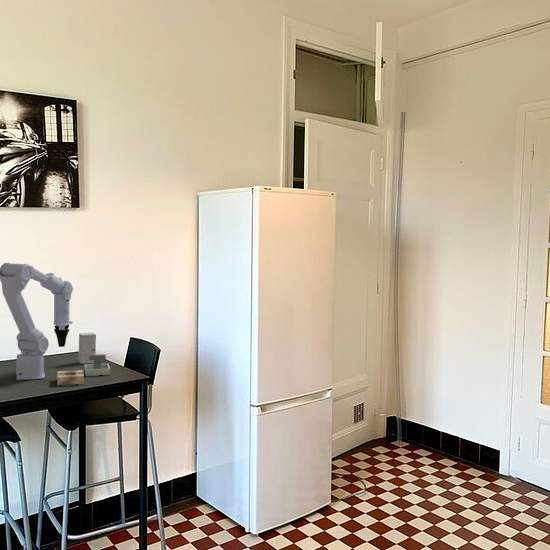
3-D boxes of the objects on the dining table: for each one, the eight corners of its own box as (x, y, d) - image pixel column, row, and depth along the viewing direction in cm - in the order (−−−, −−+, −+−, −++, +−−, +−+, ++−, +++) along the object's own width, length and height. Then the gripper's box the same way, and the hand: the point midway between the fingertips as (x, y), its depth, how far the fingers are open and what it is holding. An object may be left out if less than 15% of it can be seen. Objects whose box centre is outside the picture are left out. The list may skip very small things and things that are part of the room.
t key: (89, 373, 226) (89, 356, 225) (89, 371, 228) (89, 355, 228) (105, 372, 228) (105, 355, 227) (105, 370, 230) (105, 354, 230)
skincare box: (81, 364, 241) (81, 335, 240) (78, 362, 245) (78, 333, 244) (96, 362, 245) (96, 334, 244) (93, 360, 249) (93, 332, 248)
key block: (57, 385, 209) (57, 377, 209) (57, 379, 217) (57, 371, 217) (83, 384, 212) (83, 375, 212) (83, 377, 220) (83, 370, 220)
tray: (85, 376, 222) (85, 369, 222) (84, 370, 231) (84, 364, 231) (110, 375, 226) (110, 368, 225) (108, 369, 234) (108, 363, 234)
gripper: (72, 313, 227) (72, 348, 228) (72, 308, 240) (72, 340, 241) (53, 313, 224) (53, 348, 225) (53, 308, 238) (53, 341, 239)
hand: (61, 344), depth 233 cm, fingers open, 7 cm apart
